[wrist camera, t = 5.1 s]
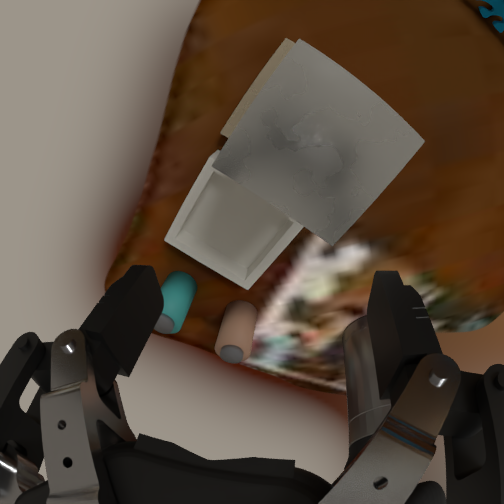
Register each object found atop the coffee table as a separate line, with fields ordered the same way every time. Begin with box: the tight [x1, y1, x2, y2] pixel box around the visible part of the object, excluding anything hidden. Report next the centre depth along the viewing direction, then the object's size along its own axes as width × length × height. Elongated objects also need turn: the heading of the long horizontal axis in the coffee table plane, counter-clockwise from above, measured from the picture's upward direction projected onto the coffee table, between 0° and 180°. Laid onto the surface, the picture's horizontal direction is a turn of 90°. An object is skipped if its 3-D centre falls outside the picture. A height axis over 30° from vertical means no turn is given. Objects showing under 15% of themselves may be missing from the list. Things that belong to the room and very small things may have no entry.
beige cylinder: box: [215, 300, 257, 363], centre depth 36 cm, size 4×4×8 cm
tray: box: [164, 150, 304, 290], centre depth 30 cm, size 11×11×3 cm
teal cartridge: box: [154, 271, 197, 334], centre depth 34 cm, size 4×4×8 cm
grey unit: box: [212, 38, 425, 246], centre depth 18 cm, size 12×11×14 cm
